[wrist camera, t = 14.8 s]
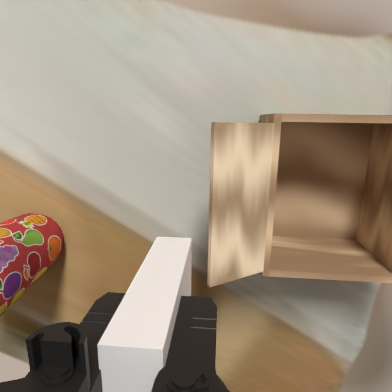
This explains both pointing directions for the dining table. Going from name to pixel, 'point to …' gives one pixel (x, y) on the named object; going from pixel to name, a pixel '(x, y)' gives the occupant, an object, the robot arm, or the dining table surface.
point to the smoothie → (26, 254)
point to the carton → (330, 198)
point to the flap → (238, 199)
